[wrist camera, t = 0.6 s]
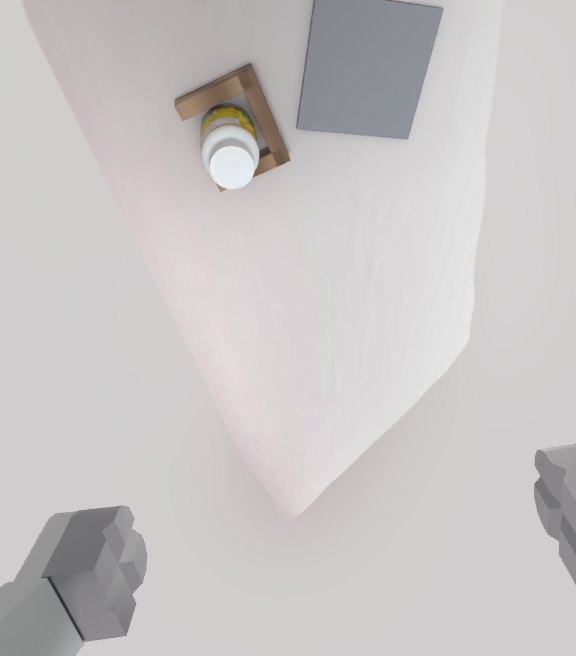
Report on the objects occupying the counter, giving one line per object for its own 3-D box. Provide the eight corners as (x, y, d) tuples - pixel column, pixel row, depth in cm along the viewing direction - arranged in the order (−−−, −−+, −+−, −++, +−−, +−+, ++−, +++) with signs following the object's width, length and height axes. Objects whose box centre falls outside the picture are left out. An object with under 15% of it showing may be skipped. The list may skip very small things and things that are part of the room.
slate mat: (315, -11, 46) (316, -10, 45) (441, 7, 48) (443, 9, 48) (296, 127, 53) (297, 129, 53) (406, 137, 56) (407, 139, 55)
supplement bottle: (197, 104, 51) (196, 139, 43) (251, 101, 51) (260, 134, 44) (204, 158, 54) (205, 199, 47) (255, 154, 55) (264, 194, 47)
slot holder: (220, 184, 56) (220, 191, 55) (175, 99, 50) (174, 105, 49) (287, 153, 55) (290, 160, 53) (250, 63, 49) (252, 68, 47)
